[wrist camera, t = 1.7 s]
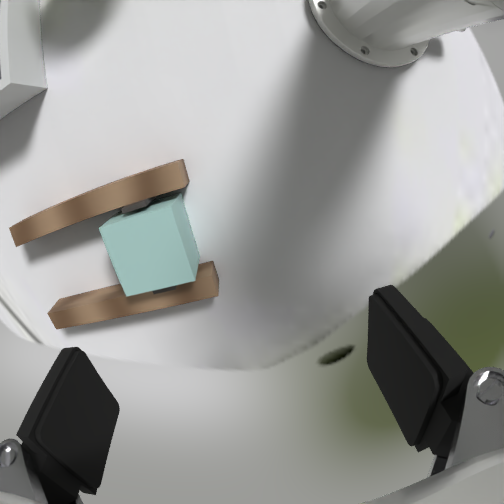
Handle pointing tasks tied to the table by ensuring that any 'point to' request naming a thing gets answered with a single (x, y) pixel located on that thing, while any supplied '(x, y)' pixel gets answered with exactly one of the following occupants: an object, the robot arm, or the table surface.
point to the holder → (20, 53)
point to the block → (152, 246)
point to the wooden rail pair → (118, 195)
